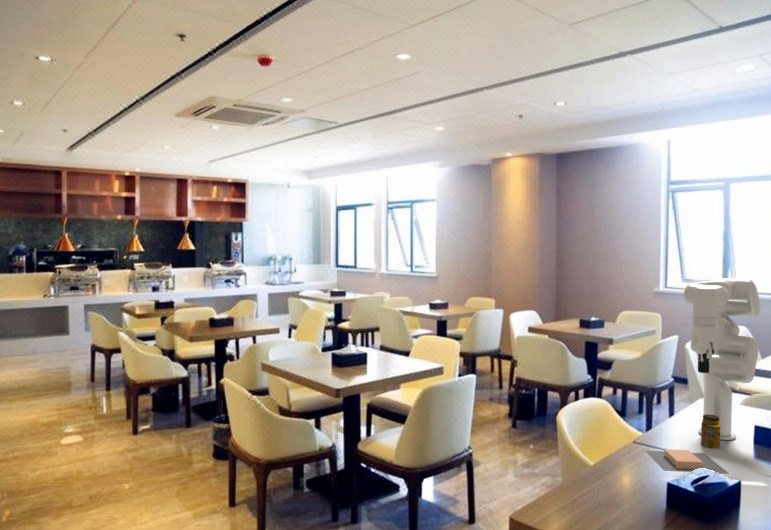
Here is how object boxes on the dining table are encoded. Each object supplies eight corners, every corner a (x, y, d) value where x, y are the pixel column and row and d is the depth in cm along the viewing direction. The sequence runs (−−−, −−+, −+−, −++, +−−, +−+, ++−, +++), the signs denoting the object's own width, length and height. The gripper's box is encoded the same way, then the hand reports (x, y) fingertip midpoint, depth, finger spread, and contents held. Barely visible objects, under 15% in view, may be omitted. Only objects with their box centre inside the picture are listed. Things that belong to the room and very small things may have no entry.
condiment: (724, 449, 205) (725, 417, 204) (713, 454, 200) (713, 420, 200) (704, 443, 211) (705, 412, 210) (692, 447, 206) (693, 415, 206)
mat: (644, 453, 200) (645, 450, 200) (704, 455, 198) (704, 453, 198) (664, 473, 182) (664, 470, 182) (729, 476, 180) (729, 473, 180)
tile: (664, 449, 195) (677, 461, 184) (688, 450, 194) (702, 462, 183) (664, 455, 195) (677, 468, 184) (688, 456, 194) (702, 469, 183)
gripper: (684, 318, 208) (683, 367, 209) (702, 324, 193) (701, 377, 194) (706, 319, 207) (705, 368, 208) (725, 324, 192) (724, 377, 193)
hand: (703, 372), depth 201 cm, fingers closed
